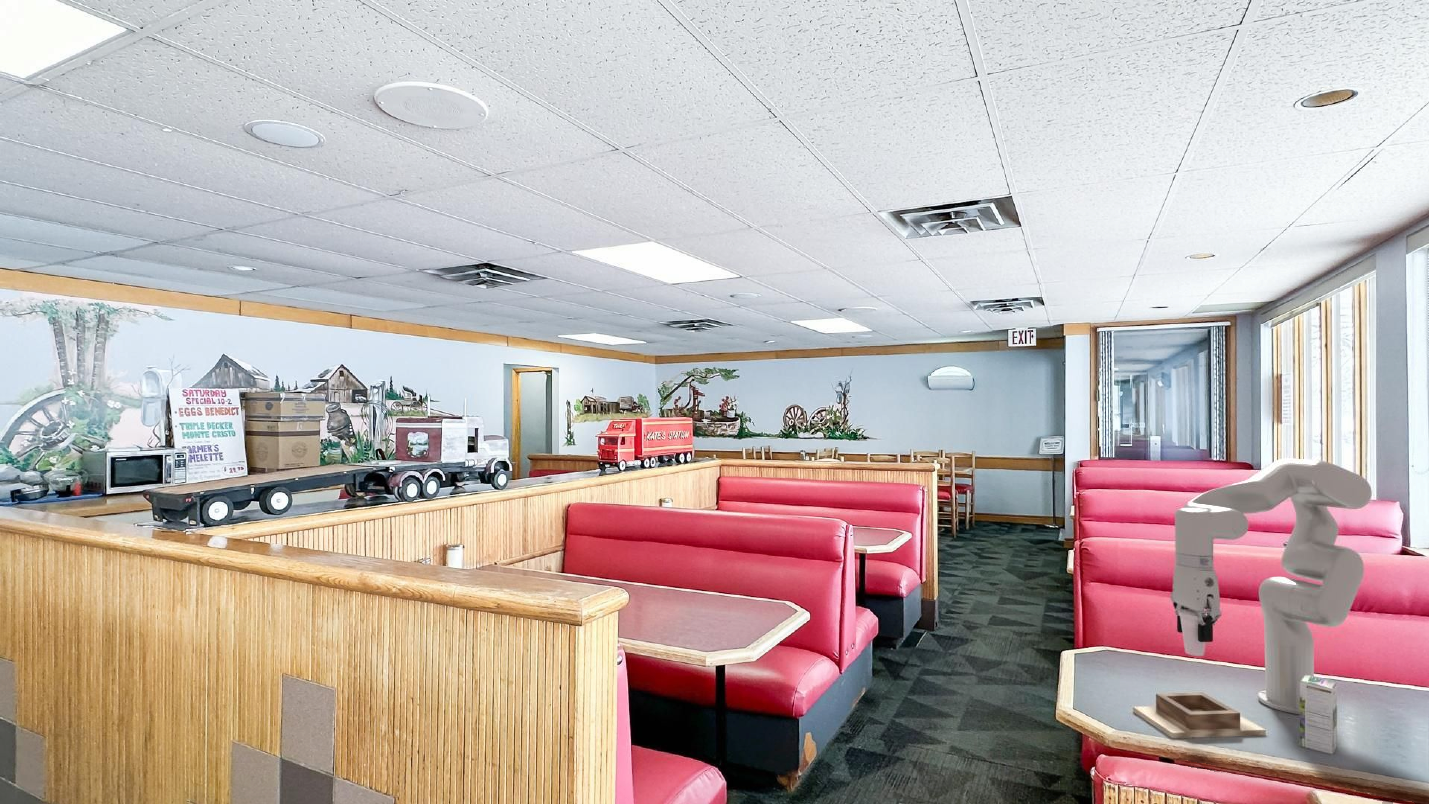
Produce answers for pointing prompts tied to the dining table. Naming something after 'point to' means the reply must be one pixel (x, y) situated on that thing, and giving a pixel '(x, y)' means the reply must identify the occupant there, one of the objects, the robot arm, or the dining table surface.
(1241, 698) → the dining table surface
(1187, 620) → the smoothie
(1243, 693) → the dining table surface
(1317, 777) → the dining table surface
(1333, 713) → the syrup box
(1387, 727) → the dining table surface
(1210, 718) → the socket stand
